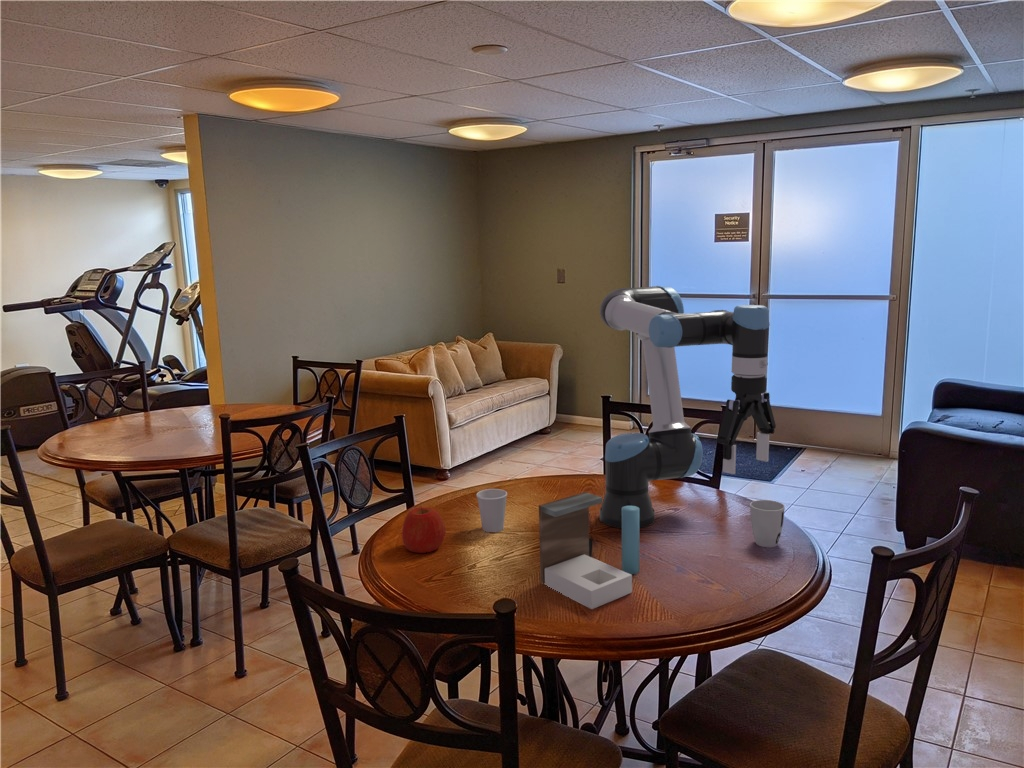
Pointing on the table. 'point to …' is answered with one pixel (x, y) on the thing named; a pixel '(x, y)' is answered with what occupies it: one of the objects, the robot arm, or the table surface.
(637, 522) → the peg
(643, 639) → the table surface
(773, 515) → the cup
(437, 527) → the apple
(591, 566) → the socket
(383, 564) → the table surface
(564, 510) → the awning
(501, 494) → the dixie cup
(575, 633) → the table surface
